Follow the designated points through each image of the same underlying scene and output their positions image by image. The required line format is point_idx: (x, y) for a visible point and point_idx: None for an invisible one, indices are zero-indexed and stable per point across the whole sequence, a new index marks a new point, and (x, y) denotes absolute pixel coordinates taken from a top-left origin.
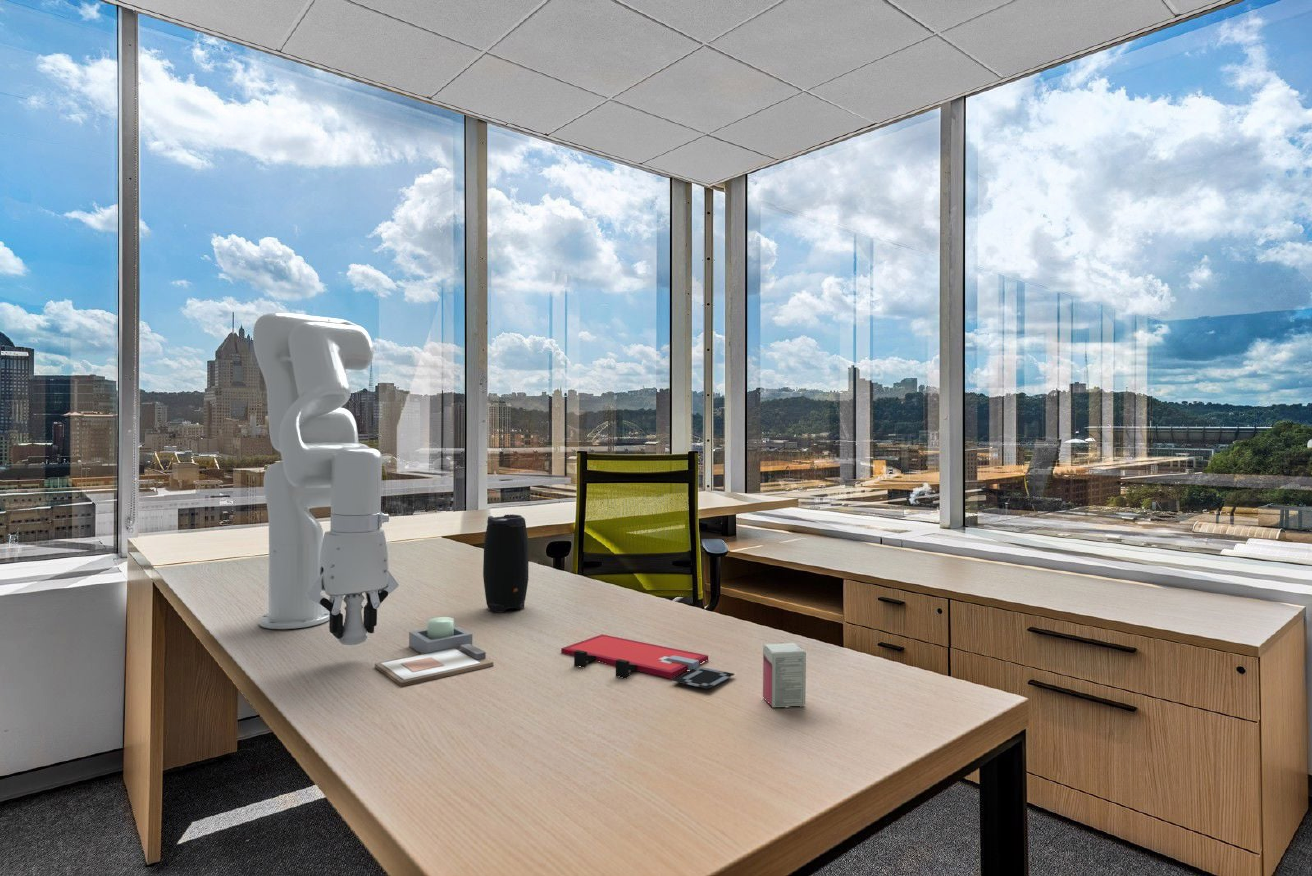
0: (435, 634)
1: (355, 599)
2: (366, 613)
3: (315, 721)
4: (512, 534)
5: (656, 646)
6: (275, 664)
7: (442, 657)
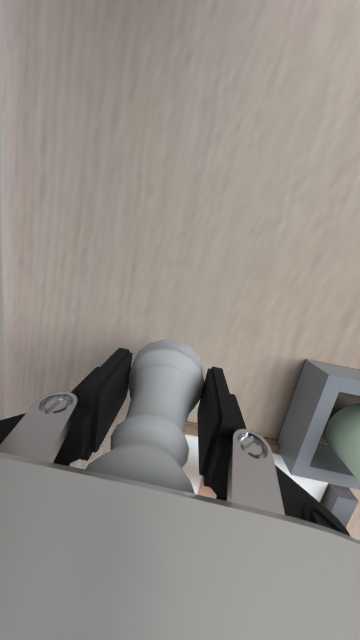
0: (340, 458)
1: None
2: (206, 428)
3: None
4: None
5: None
6: (53, 257)
7: None
